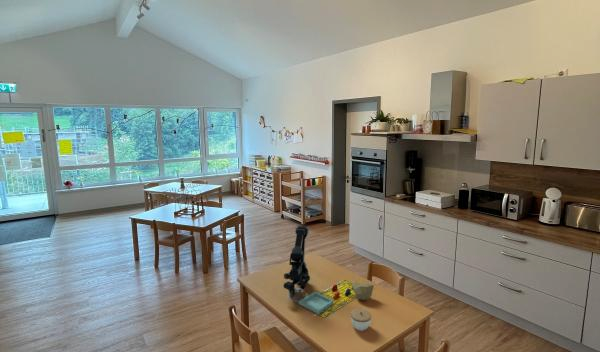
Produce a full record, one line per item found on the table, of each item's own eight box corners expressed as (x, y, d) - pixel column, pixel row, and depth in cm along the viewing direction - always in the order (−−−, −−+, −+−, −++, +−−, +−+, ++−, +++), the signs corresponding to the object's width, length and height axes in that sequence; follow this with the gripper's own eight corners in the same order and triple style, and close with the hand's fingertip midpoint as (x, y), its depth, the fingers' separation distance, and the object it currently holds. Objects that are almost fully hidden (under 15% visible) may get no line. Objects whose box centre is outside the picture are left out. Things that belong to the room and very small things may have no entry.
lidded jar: (348, 321, 185) (348, 306, 183) (367, 320, 186) (368, 305, 184) (353, 334, 174) (353, 318, 173) (373, 333, 175) (373, 317, 174)
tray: (314, 295, 213) (314, 291, 212) (333, 303, 203) (333, 300, 202) (298, 304, 202) (298, 301, 201) (317, 314, 192) (318, 310, 191)
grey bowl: (375, 303, 203) (376, 286, 212) (370, 292, 198) (371, 276, 207) (352, 304, 210) (354, 288, 218) (346, 294, 204) (348, 278, 213)
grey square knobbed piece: (296, 291, 217) (296, 283, 216) (308, 297, 210) (308, 288, 209) (286, 297, 210) (285, 289, 209) (297, 303, 203) (297, 295, 202)
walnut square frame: (296, 292, 215) (296, 286, 214) (307, 297, 209) (307, 291, 208) (289, 296, 210) (289, 290, 209) (299, 301, 204) (299, 295, 203)
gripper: (297, 262, 219) (297, 284, 222) (277, 272, 205) (277, 295, 208) (310, 267, 212) (310, 289, 214) (290, 278, 198) (290, 301, 201)
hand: (297, 294), depth 210 cm, fingers open, 9 cm apart
